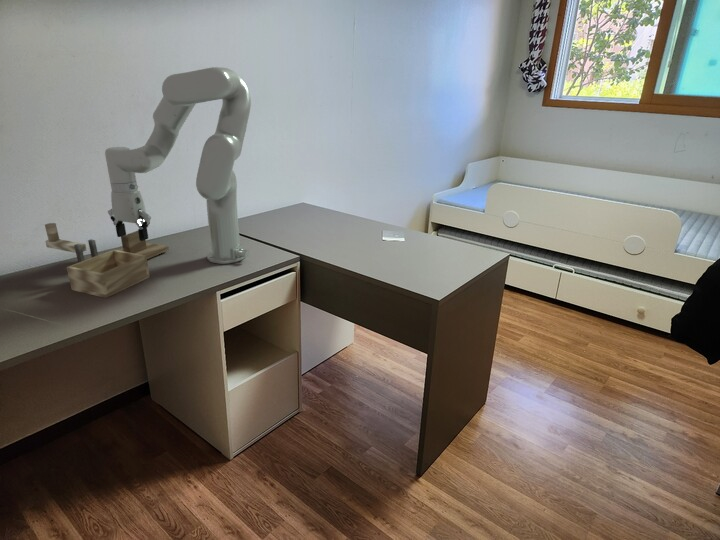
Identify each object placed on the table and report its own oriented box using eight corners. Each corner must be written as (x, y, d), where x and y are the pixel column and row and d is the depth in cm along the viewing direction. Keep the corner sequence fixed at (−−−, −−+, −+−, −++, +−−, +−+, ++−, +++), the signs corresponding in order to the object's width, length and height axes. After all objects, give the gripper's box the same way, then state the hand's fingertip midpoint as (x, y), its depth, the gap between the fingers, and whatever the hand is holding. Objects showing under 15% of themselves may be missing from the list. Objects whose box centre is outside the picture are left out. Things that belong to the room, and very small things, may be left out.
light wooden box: (149, 277, 143) (143, 241, 138) (106, 298, 129) (98, 258, 124) (112, 269, 148) (105, 234, 143) (66, 288, 134) (57, 250, 129)
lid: (169, 252, 164) (166, 230, 161) (132, 268, 150) (128, 244, 147) (140, 247, 168) (136, 225, 165) (101, 262, 154) (96, 238, 151)
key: (86, 250, 139) (81, 227, 136) (78, 253, 137) (73, 230, 134) (55, 244, 143) (50, 222, 141) (46, 247, 141) (41, 224, 138)
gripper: (154, 187, 150) (161, 238, 157) (113, 182, 156) (122, 231, 162) (136, 192, 144) (144, 244, 150) (94, 186, 149) (104, 237, 156)
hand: (132, 237), depth 156 cm, fingers open, 9 cm apart
